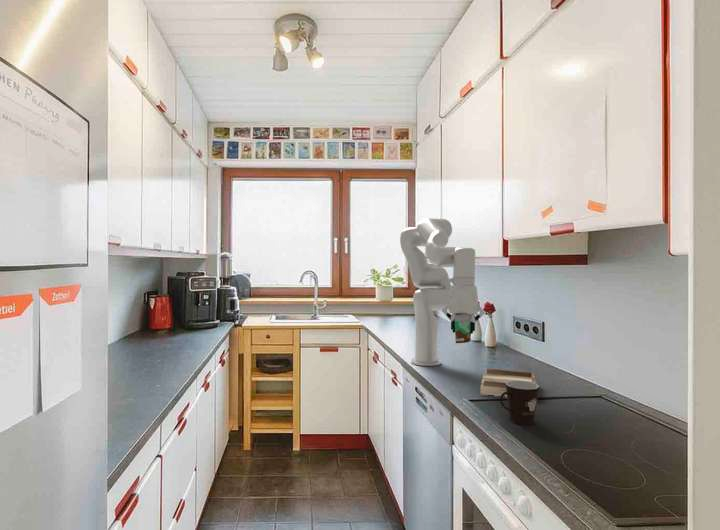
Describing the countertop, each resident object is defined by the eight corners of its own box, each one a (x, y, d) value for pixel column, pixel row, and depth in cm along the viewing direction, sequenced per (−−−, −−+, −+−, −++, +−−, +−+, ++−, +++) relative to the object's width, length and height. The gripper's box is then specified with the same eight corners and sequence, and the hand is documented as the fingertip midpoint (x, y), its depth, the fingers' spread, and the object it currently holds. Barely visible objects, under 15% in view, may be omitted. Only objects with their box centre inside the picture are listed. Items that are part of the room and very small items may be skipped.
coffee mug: (530, 415, 129) (530, 380, 129) (544, 426, 120) (544, 389, 120) (490, 415, 128) (490, 380, 128) (500, 427, 120) (501, 389, 119)
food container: (473, 344, 155) (472, 315, 155) (455, 344, 157) (454, 315, 157) (473, 337, 167) (472, 310, 167) (456, 337, 169) (455, 310, 169)
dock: (484, 380, 165) (484, 368, 165) (534, 385, 159) (534, 372, 159) (480, 394, 148) (480, 381, 148) (536, 400, 142) (536, 386, 142)
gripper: (438, 282, 161) (437, 332, 162) (488, 283, 155) (487, 336, 156) (441, 280, 168) (440, 329, 169) (489, 282, 162) (488, 332, 163)
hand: (462, 332), depth 162 cm, fingers closed on food container, 5 cm apart
